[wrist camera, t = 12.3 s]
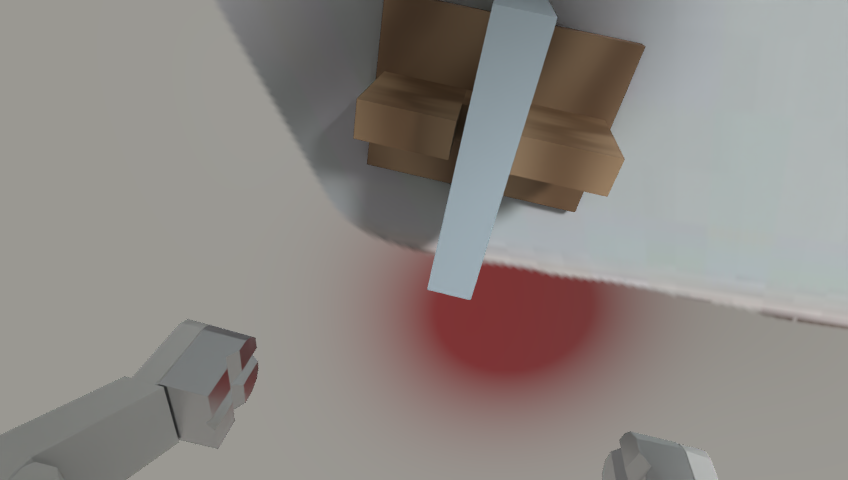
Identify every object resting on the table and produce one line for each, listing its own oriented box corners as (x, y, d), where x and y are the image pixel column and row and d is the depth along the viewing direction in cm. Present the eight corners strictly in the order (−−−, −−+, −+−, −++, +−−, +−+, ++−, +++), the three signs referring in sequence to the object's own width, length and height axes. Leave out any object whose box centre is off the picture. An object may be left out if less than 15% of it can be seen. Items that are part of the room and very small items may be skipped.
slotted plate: (500, -18, 25) (492, 3, 16) (543, -9, 24) (557, 17, 16) (449, 201, 33) (427, 289, 24) (481, 209, 32) (470, 299, 24)
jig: (642, 43, 26) (676, 72, 20) (573, 206, 32) (586, 262, 26) (388, -11, 26) (353, 2, 21) (369, 159, 33) (339, 204, 27)
